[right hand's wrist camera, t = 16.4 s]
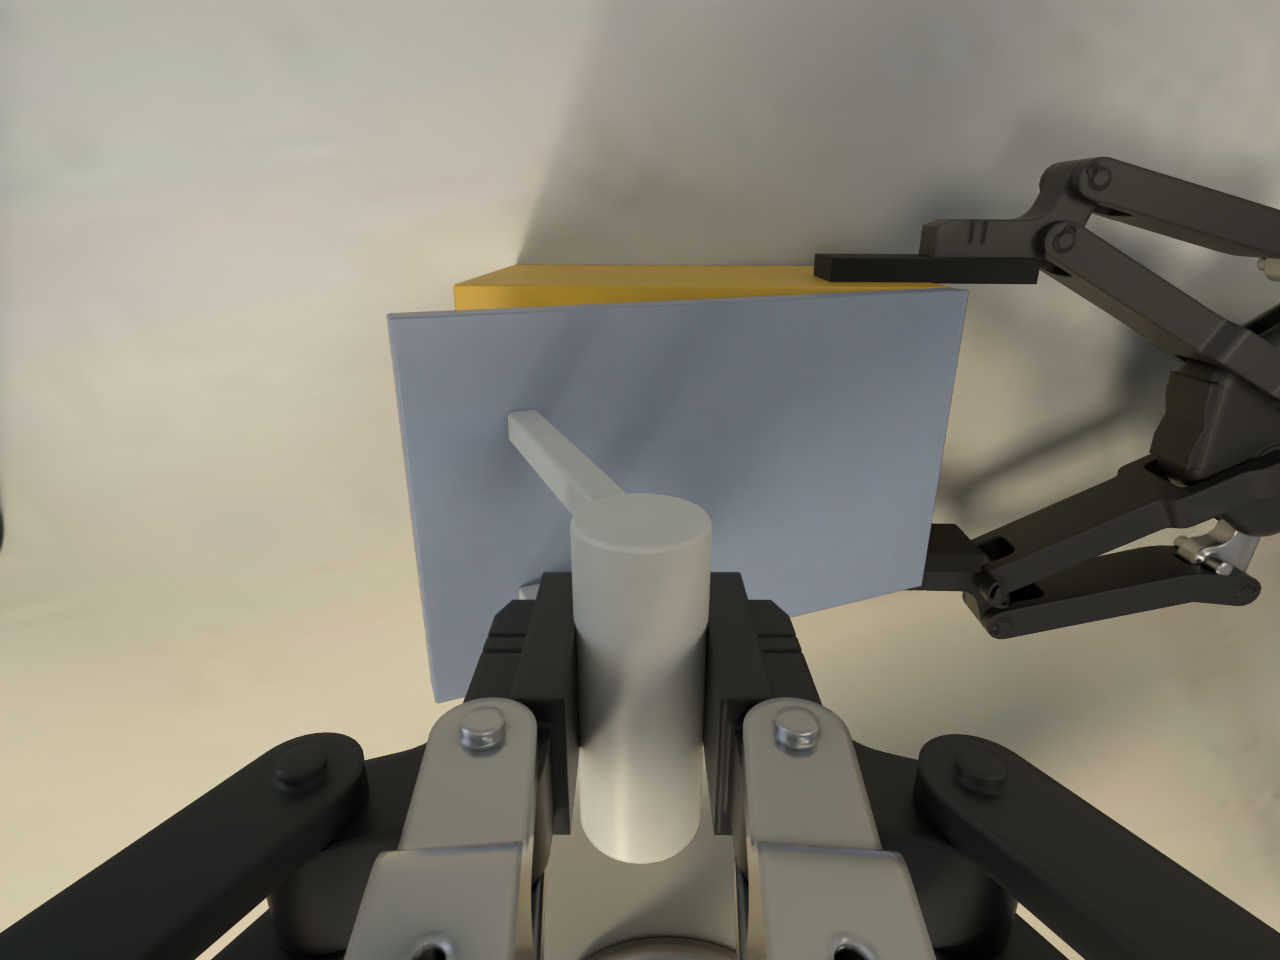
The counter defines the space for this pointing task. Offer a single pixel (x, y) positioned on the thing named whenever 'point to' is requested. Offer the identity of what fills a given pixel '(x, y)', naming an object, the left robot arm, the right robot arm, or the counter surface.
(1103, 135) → the counter surface
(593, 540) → the lid
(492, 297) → the chest
